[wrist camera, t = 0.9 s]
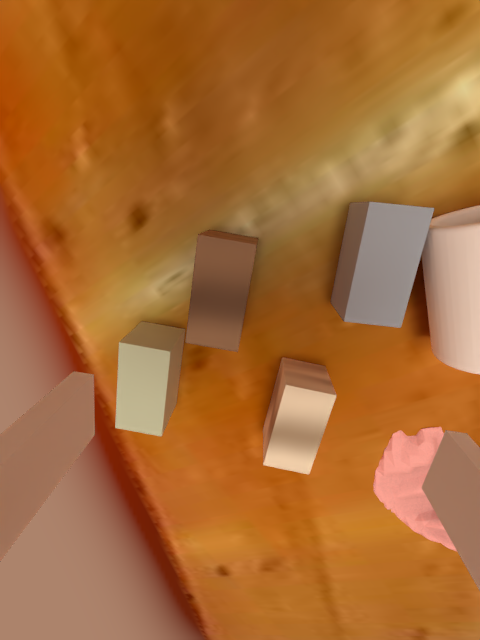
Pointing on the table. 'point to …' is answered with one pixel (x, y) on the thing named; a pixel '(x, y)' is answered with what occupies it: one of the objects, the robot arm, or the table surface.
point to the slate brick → (379, 261)
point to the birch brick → (297, 415)
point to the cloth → (411, 482)
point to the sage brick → (148, 377)
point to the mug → (454, 287)
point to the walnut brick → (220, 289)
